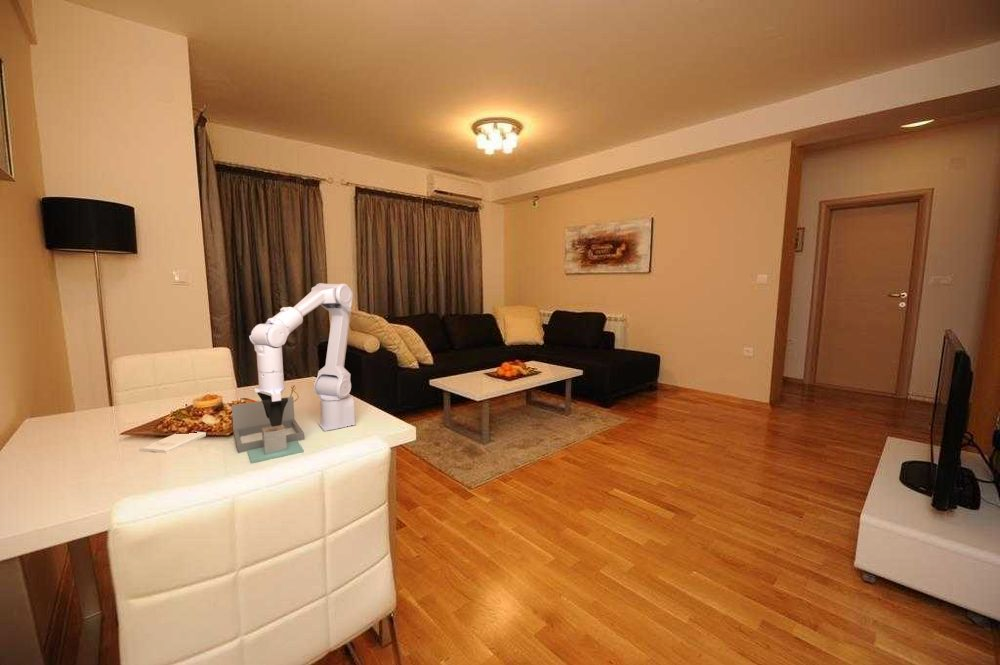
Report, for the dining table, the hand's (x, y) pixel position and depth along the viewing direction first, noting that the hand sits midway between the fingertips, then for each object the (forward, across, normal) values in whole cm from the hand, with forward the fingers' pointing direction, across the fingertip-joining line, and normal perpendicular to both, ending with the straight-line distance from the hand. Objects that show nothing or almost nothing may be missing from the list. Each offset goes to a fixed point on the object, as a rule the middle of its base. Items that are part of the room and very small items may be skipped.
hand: (273, 421), depth 108 cm
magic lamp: (+9, -31, +3) cm, 32 cm away
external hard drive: (+9, -22, -22) cm, 33 cm away
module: (+8, 0, 0) cm, 8 cm away
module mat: (+8, 0, 0) cm, 8 cm away
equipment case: (+8, -12, 0) cm, 15 cm away
